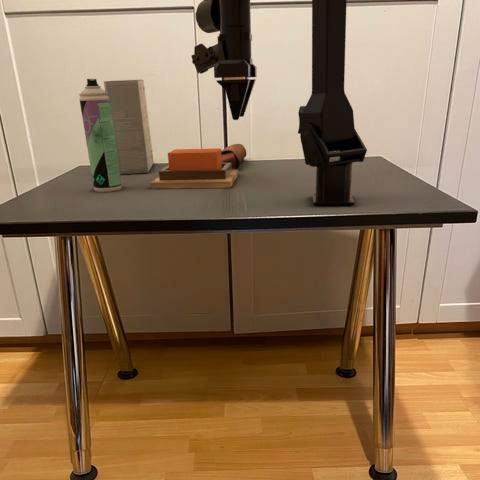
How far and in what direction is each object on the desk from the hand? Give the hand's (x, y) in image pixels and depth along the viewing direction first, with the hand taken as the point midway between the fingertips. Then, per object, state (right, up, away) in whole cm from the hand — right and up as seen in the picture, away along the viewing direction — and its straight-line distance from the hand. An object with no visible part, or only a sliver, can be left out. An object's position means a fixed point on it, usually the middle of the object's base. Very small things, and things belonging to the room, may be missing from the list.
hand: (238, 118), depth 97 cm
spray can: (-26, -14, 0) cm, 30 cm away
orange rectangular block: (-9, -10, +4) cm, 14 cm away
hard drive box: (-26, -3, +23) cm, 34 cm away
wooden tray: (-9, -11, +5) cm, 15 cm away
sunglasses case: (-3, -2, +24) cm, 24 cm away
